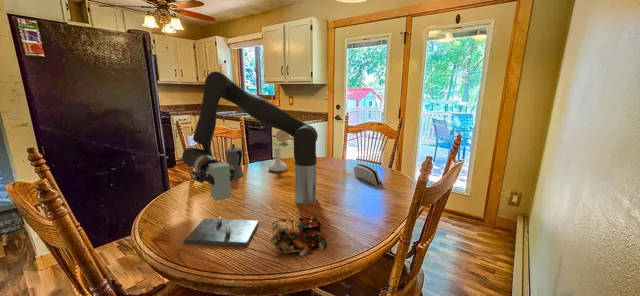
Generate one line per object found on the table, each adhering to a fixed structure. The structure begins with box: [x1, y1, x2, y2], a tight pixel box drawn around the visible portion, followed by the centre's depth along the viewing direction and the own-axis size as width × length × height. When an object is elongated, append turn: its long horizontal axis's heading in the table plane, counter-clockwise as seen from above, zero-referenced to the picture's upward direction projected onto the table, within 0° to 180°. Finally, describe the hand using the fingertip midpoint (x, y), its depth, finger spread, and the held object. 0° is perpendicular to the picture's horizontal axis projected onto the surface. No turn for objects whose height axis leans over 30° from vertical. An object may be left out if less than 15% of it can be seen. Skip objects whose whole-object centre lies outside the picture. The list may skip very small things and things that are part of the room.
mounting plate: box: [183, 216, 260, 248], centre depth 90 cm, size 20×14×4 cm
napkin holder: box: [353, 163, 383, 185], centre depth 145 cm, size 17×5×10 cm, turn 34°
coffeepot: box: [224, 143, 244, 179], centre depth 146 cm, size 15×9×18 cm, turn 43°
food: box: [270, 215, 328, 256], centre depth 89 cm, size 22×19×4 cm
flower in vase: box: [268, 129, 290, 172], centre depth 157 cm, size 13×11×25 cm
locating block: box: [209, 161, 232, 202], centre depth 86 cm, size 5×5×11 cm
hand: (222, 180), depth 84 cm, fingers closed on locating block, 5 cm apart
